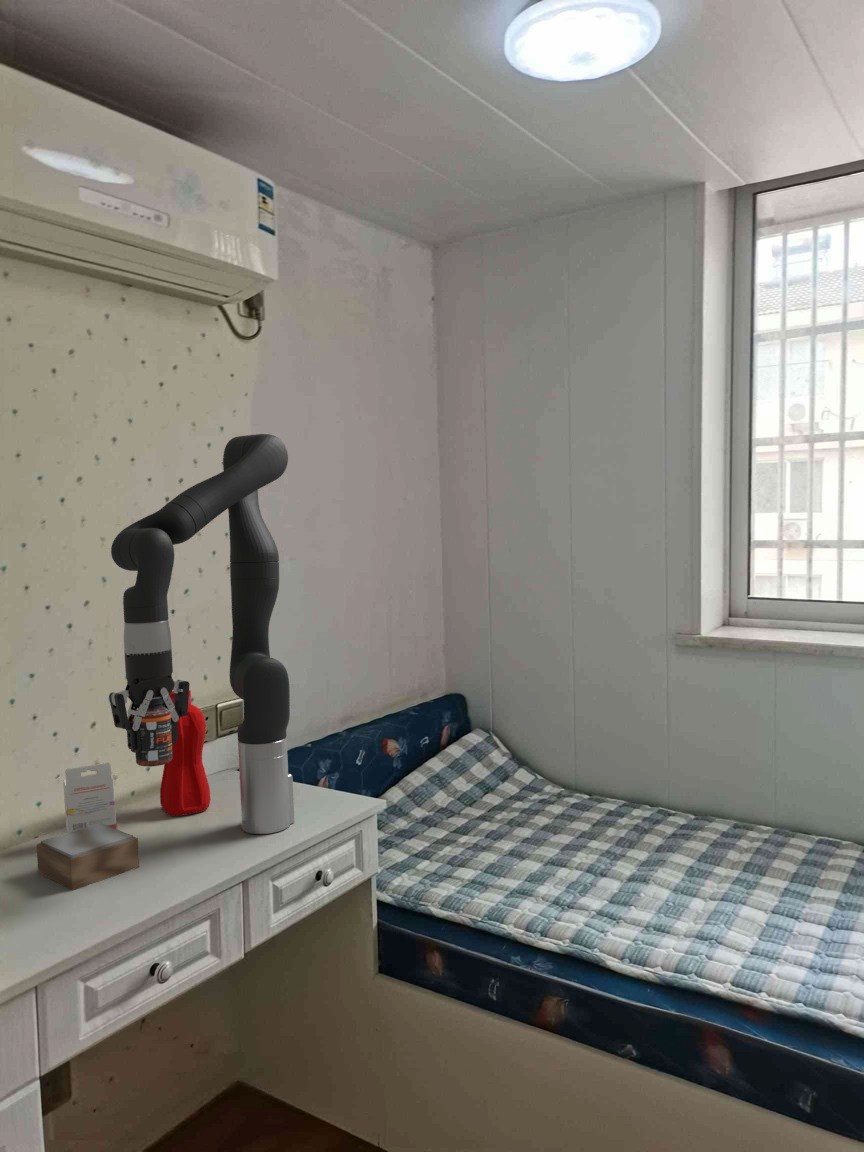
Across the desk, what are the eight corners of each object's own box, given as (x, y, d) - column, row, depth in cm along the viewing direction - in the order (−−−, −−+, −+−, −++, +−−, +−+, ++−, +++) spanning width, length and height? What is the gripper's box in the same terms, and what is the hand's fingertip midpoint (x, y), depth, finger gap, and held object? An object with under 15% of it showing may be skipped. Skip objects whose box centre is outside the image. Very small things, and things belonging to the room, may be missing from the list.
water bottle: (199, 797, 190) (193, 683, 189) (214, 811, 181) (208, 690, 179) (155, 806, 185) (149, 688, 184) (169, 820, 176) (162, 696, 174)
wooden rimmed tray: (103, 851, 160) (102, 821, 159) (139, 866, 152) (137, 835, 152) (38, 872, 151) (36, 841, 150) (72, 890, 143) (70, 857, 142)
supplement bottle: (162, 768, 144) (158, 700, 144) (129, 767, 145) (125, 699, 145) (179, 758, 150) (176, 692, 149) (147, 757, 151) (143, 692, 151)
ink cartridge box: (113, 831, 171) (109, 756, 170) (117, 839, 166) (113, 762, 165) (66, 839, 167) (61, 763, 166) (68, 848, 162) (64, 769, 161)
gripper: (172, 641, 154) (178, 736, 155) (96, 652, 144) (102, 754, 145) (198, 644, 150) (203, 741, 151) (120, 655, 139) (126, 761, 140)
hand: (153, 747), depth 148 cm, fingers closed on supplement bottle, 6 cm apart
